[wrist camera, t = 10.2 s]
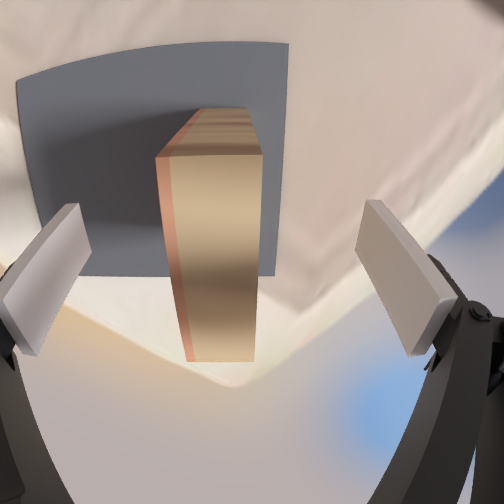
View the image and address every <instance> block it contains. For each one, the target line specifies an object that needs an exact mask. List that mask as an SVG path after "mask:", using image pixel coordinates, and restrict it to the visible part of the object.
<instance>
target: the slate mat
mask: <svg viewBox="0 0 504 504" xmlns="http://www.w3.org/2000/svg"><path fill="white" fill-rule="evenodd" d="M288 50H289V44H285V43H270V42H200V43H185V44H173V45H164V46H155V47H147V48H140V49H134V50H128V51H122V52H116V53H111V54H106V55H102V56H97V57H93V58H88V59H84V60H80V61H76V62H72V63H69V64H65V65H62V66H58V67H55V68H52V69H48V70H45V71H42V72H39V73H36V74H33V75H30V76H27V77H25V78H22V79H19V80H17V95H18V106H19V115H20V124H21V131H22V138H23V144H24V150H25V156H26V161H27V166H28V171H29V176H30V180H31V185H32V189H33V193H34V197H35V201H36V205H37V209H38V213H39V216H40V220H41V223H42V227H43V228H44V227H45V226H46V225H47V223H48V222H49V221H50V220H51V219H52V218H53V217H54V216H55V215H56V214H57V213H58V211H59V210H60V209H61V208H62V207H63V206H64V205H65V204H70V203H79V206H80V210H81V214H82V218H83V222H84V226H85V230H86V234H87V237H88V241H89V244H90V248H91V251H92V253H91V254H90V256H89V258H88V259H87V261H86V263H85V264H84V266H83V268H82V270H81V271H80V273H79V275H78V276H117V277H170V272H169V265H168V259H167V252H166V246H165V239H164V231H163V224H162V216H161V208H160V199H159V190H158V181H157V170H156V159H155V157H156V156H157V155H158V154H159V153H160V152H161V150H162V149H163V148H164V147H165V146H166V145H167V144H168V143H169V141H170V140H171V139H172V138H173V137H174V136H175V135H176V134H177V132H178V131H179V130H180V129H181V128H182V127H183V126H184V125H185V124H186V123H187V122H188V121H189V120H190V118H191V117H192V116H193V115H194V114H195V113H196V112H197V111H198V110H199V109H200V108H247V109H248V112H249V115H250V118H251V121H252V124H253V127H254V130H255V133H256V136H257V139H258V142H259V145H260V148H261V151H262V154H263V166H262V192H261V217H260V241H259V265H258V276H275V265H276V253H277V240H278V227H279V213H280V199H281V184H282V169H283V153H284V135H285V117H286V97H287V75H288Z"/></svg>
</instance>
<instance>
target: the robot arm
mask: <svg viewBox="0 0 504 504" xmlns="http://www.w3.org/2000/svg"><path fill="white" fill-rule="evenodd" d="M355 251H356V253H357V255H358V257H359V258H360V260H361V262H362V264H363V266H364V268H365V270H366V271H367V273H368V275H369V277H370V279H371V281H372V283H373V285H374V287H375V289H376V291H377V293H378V295H379V297H380V298H381V301H382V302H383V305H384V306H385V308H386V311H387V313H388V315H389V317H390V319H391V321H392V323H393V325H394V327H395V329H396V331H397V334H398V336H399V338H400V340H401V342H402V344H403V347H404V348H405V351H406V353H407V356H408V357H413V356H418V355H423V354H425V353H426V352H427V351H428V349H429V347H430V346H431V344H432V343H433V345H434V347H435V349H436V352H435V353H434V355H433V356H432V358H431V359H430V361H429V362H428V364H427V365H426V366H425V368H424V370H427V369H428V367H429V369H428V372H427V375H426V378H425V381H424V384H423V387H422V389H421V392H420V395H419V398H418V400H417V403H416V406H415V408H414V411H413V413H412V416H411V418H410V420H409V423H408V425H407V428H406V430H405V432H404V434H403V437H402V439H401V441H400V443H399V445H398V448H397V450H396V452H395V454H394V456H393V458H392V460H391V462H390V464H389V466H388V468H387V470H386V472H385V473H384V475H383V477H382V479H381V481H380V483H379V485H378V486H377V488H376V490H375V492H374V494H373V495H372V497H371V499H370V500H369V502H368V503H367V504H457V502H458V499H459V497H460V494H461V491H462V489H463V486H464V483H465V480H466V477H467V474H468V471H469V467H470V465H471V461H472V458H473V454H474V451H475V447H476V456H475V468H474V478H473V486H472V493H471V500H470V504H504V318H500V317H494V316H492V314H491V313H490V311H489V310H488V309H487V308H486V307H485V306H484V305H482V304H481V303H479V302H476V301H468V299H467V298H466V297H465V295H464V294H463V292H462V291H461V290H460V288H459V287H458V286H457V284H456V283H455V281H454V280H453V279H451V276H450V275H449V273H447V272H446V270H445V268H444V267H443V266H442V264H441V263H440V262H439V261H438V260H436V259H435V258H434V257H433V256H431V255H429V254H426V253H425V252H424V251H423V249H422V248H421V247H420V246H419V244H418V243H417V242H416V241H415V239H414V238H413V237H412V236H411V235H410V233H409V232H408V231H407V230H406V229H405V227H404V226H403V225H402V224H401V223H400V222H399V220H398V219H397V218H396V217H395V216H394V215H393V213H392V212H391V211H390V210H389V209H388V208H387V207H386V206H385V204H384V203H383V202H382V201H381V200H368V199H366V202H365V207H364V212H363V217H362V221H361V226H360V230H359V235H358V239H357V243H356V248H355ZM91 253H92V251H91V248H90V244H89V241H88V237H87V234H86V230H85V226H84V222H83V218H82V214H81V210H80V206H79V203H70V204H65V205H64V206H63V207H62V208H61V209H60V210H59V211H58V213H57V214H56V215H55V216H54V217H53V218H52V219H51V220H50V221H49V222H48V223H47V225H46V226H45V227H44V228H43V229H42V230H41V231H40V233H39V234H38V235H37V236H36V237H35V238H34V239H33V241H32V242H31V243H30V244H29V245H28V247H27V248H26V249H25V250H24V252H23V253H22V254H21V255H20V256H19V258H18V259H17V260H16V261H15V262H14V263H13V264H11V265H10V266H9V268H8V269H7V270H6V271H5V273H4V276H2V277H1V278H0V504H74V502H73V500H72V499H71V497H70V495H69V493H68V491H67V490H66V488H65V486H64V484H63V482H62V481H61V478H60V476H59V474H58V472H57V470H56V468H55V466H54V464H53V462H52V459H51V457H50V455H49V453H48V450H47V449H46V446H45V444H44V441H43V439H42V436H41V434H40V431H39V429H38V426H37V423H36V420H35V418H34V415H33V412H32V409H31V406H30V403H29V400H28V397H27V394H26V391H25V387H24V384H23V381H22V377H21V373H20V369H19V365H18V361H17V357H16V355H15V353H14V352H13V348H14V346H15V344H16V345H17V346H18V347H19V349H20V351H21V352H22V353H23V354H26V355H31V356H36V357H37V356H38V354H39V352H40V349H41V347H42V345H43V343H44V341H45V338H46V336H47V334H48V332H49V330H50V328H51V326H52V324H53V322H54V320H55V318H56V316H57V314H58V312H59V310H60V308H61V306H62V304H63V302H64V300H65V298H66V297H67V295H68V293H69V291H70V289H71V287H72V286H73V284H74V282H75V280H76V278H77V277H78V275H79V273H80V271H81V270H82V268H83V266H84V264H85V263H86V261H87V259H88V258H89V256H90V254H91Z"/></svg>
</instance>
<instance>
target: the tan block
mask: <svg viewBox="0 0 504 504" xmlns="http://www.w3.org/2000/svg"><path fill="white" fill-rule="evenodd" d="M155 159H156V170H157V181H158V190H159V199H160V208H161V216H162V224H163V231H164V239H165V246H166V252H167V259H168V265H169V272H170V278H171V284H172V289H173V295H174V301H175V306H176V311H177V317H178V322H179V327H180V332H181V337H182V341H183V346H184V351H185V355H186V360H187V362H254V352H255V331H256V310H257V287H258V265H259V241H260V217H261V192H262V166H263V154H262V151H261V148H260V145H259V142H258V139H257V136H256V133H255V130H254V127H253V124H252V121H251V118H250V115H249V112H248V109H247V108H200V109H199V110H198V111H197V112H196V113H195V114H194V115H193V116H192V117H191V118H190V120H189V121H188V122H187V123H186V124H185V125H184V126H183V127H182V128H181V129H180V130H179V131H178V132H177V134H176V135H175V136H174V137H173V138H172V139H171V140H170V141H169V143H168V144H167V145H166V146H165V147H164V148H163V149H162V150H161V152H160V153H159V154H158V155H157V156H156V157H155Z"/></svg>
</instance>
